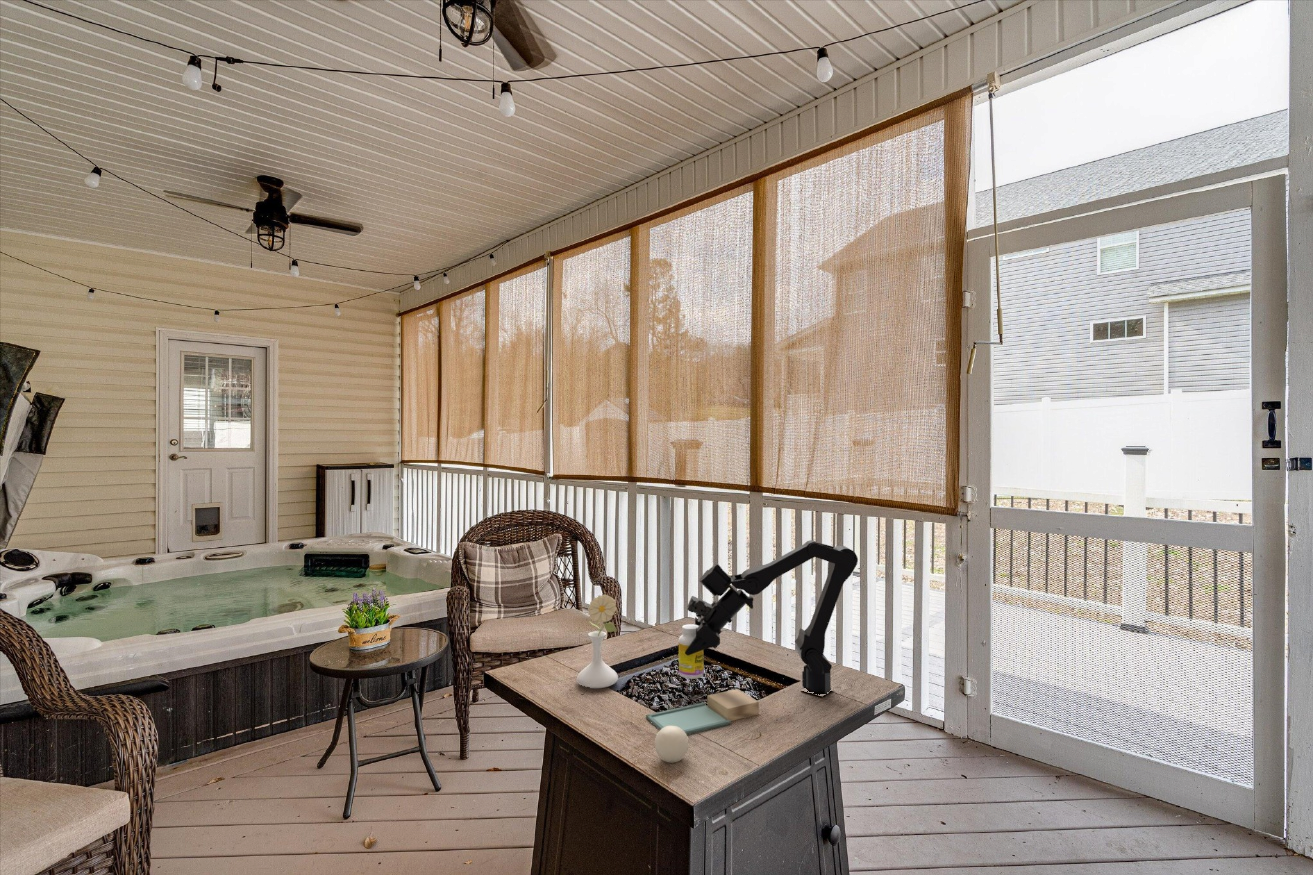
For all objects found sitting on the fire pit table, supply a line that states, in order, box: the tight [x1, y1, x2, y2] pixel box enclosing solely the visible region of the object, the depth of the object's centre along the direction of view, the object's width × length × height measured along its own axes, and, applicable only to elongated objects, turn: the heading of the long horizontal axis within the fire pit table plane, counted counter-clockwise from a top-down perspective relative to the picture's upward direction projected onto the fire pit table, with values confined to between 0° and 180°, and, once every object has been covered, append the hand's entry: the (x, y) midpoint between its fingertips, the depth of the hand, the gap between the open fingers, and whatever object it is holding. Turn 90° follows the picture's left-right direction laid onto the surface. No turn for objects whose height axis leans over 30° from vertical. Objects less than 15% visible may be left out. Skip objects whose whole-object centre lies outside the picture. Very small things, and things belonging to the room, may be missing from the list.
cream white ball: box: [654, 726, 690, 763], centre depth 127 cm, size 7×7×7 cm
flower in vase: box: [576, 593, 619, 689], centre depth 168 cm, size 13×11×25 cm
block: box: [706, 688, 760, 722], centre depth 151 cm, size 9×9×3 cm
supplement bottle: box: [678, 623, 705, 680], centre depth 164 cm, size 7×7×13 cm
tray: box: [645, 702, 731, 736], centre depth 145 cm, size 16×12×1 cm
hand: (685, 649), depth 164 cm, fingers closed on supplement bottle, 7 cm apart
